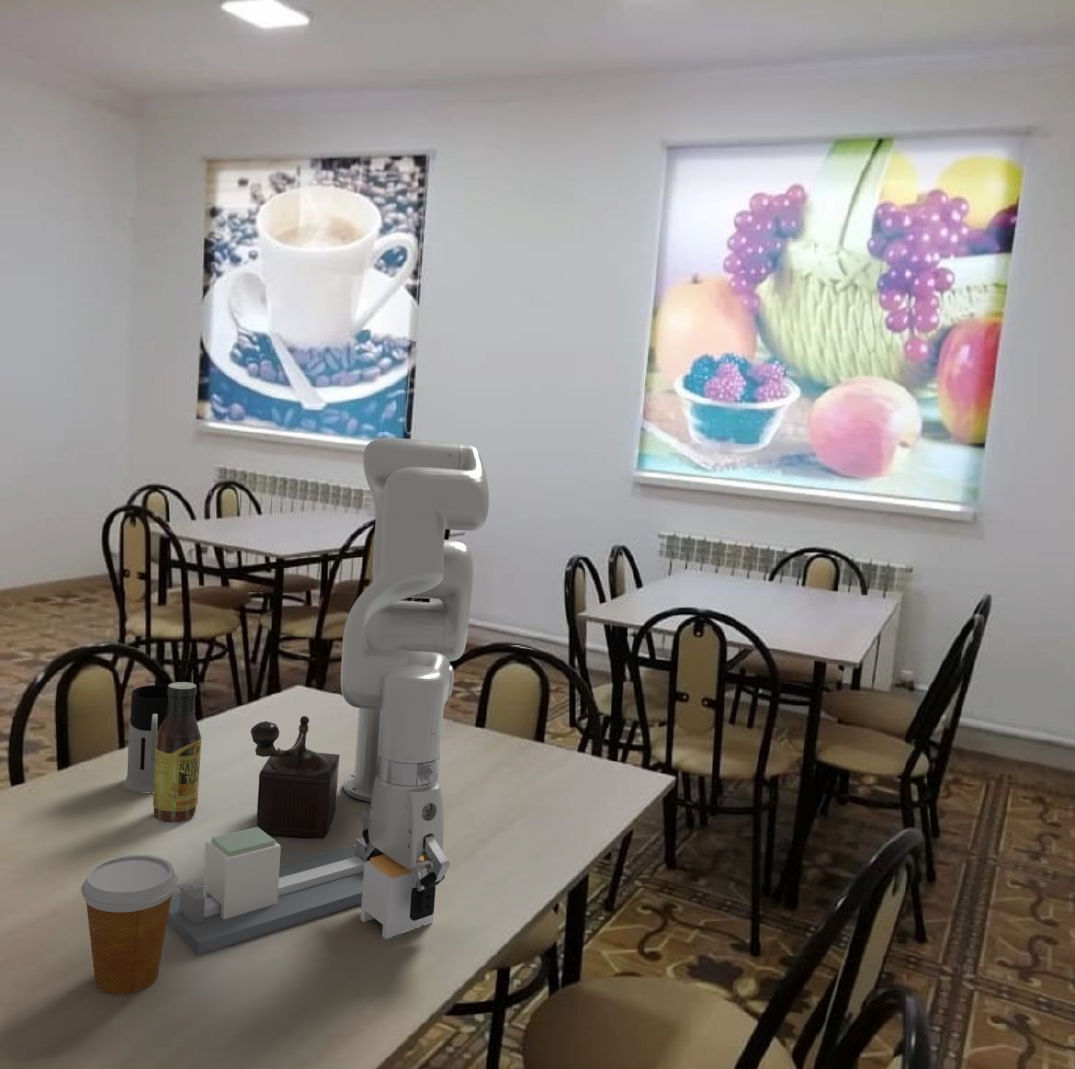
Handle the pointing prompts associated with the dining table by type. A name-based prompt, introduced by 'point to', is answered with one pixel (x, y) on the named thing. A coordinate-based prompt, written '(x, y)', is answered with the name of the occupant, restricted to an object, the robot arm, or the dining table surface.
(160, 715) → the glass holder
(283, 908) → the rail board
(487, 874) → the dining table surface
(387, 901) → the module
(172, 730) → the sauce bottle
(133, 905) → the disposable coffee cup
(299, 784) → the pepper mill
